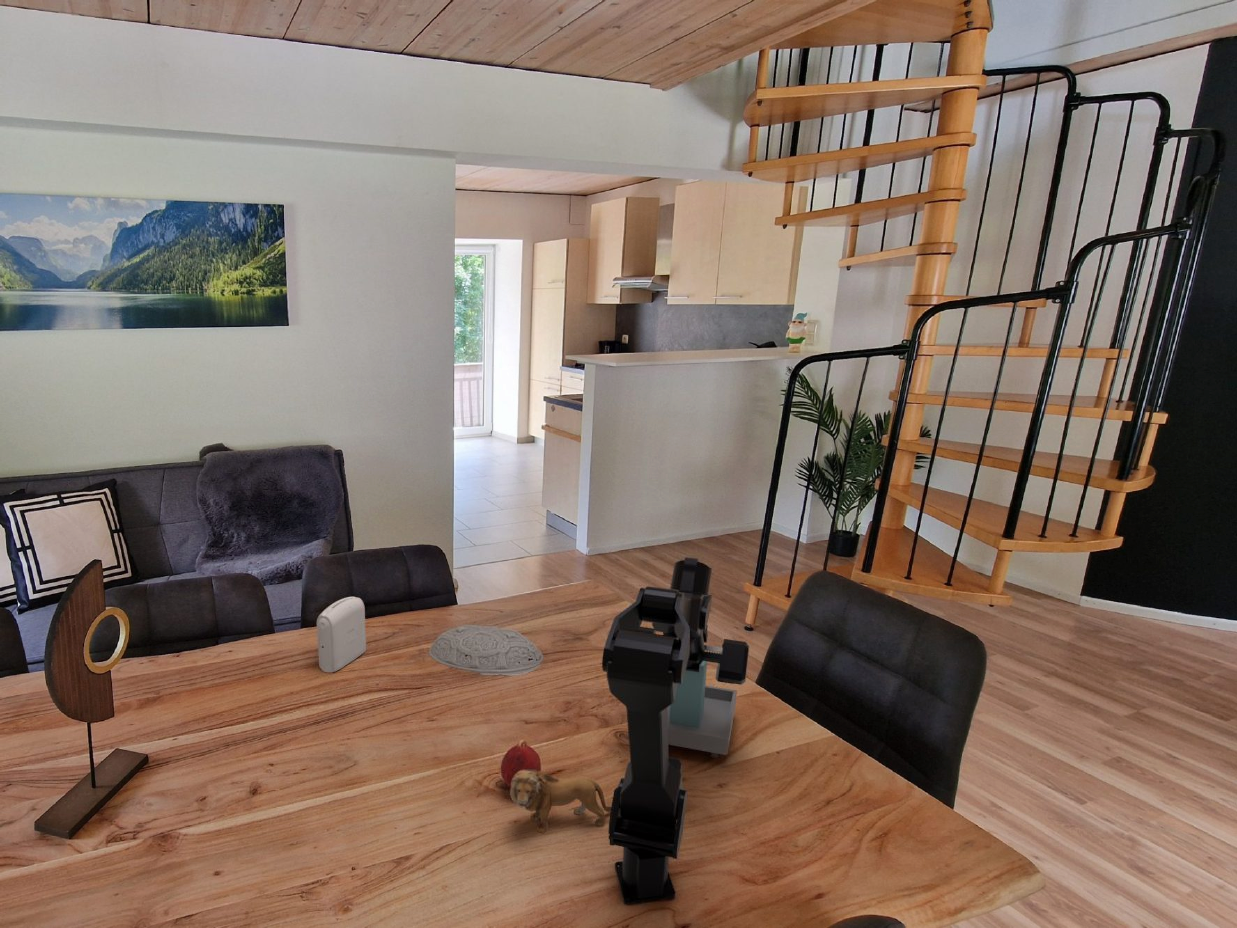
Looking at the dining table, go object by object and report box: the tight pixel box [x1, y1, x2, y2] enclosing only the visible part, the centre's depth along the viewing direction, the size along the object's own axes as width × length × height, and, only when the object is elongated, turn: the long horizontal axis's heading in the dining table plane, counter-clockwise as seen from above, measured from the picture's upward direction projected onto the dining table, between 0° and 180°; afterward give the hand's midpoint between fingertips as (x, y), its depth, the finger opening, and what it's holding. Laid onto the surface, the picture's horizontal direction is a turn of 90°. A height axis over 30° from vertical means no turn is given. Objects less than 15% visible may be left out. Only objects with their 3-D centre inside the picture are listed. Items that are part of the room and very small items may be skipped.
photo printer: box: [316, 596, 367, 674], centre depth 144 cm, size 10×4×12 cm, turn 160°
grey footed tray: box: [667, 684, 738, 759], centre depth 126 cm, size 15×15×5 cm
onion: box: [500, 739, 542, 788], centre depth 109 cm, size 6×6×8 cm
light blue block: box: [669, 661, 708, 727], centre depth 124 cm, size 5×5×11 cm
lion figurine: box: [509, 769, 611, 834], centre depth 103 cm, size 15×5×9 cm, turn 110°
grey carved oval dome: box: [428, 624, 544, 677], centre depth 150 cm, size 16×25×7 cm, turn 78°
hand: (689, 671), depth 124 cm, fingers open, 9 cm apart
